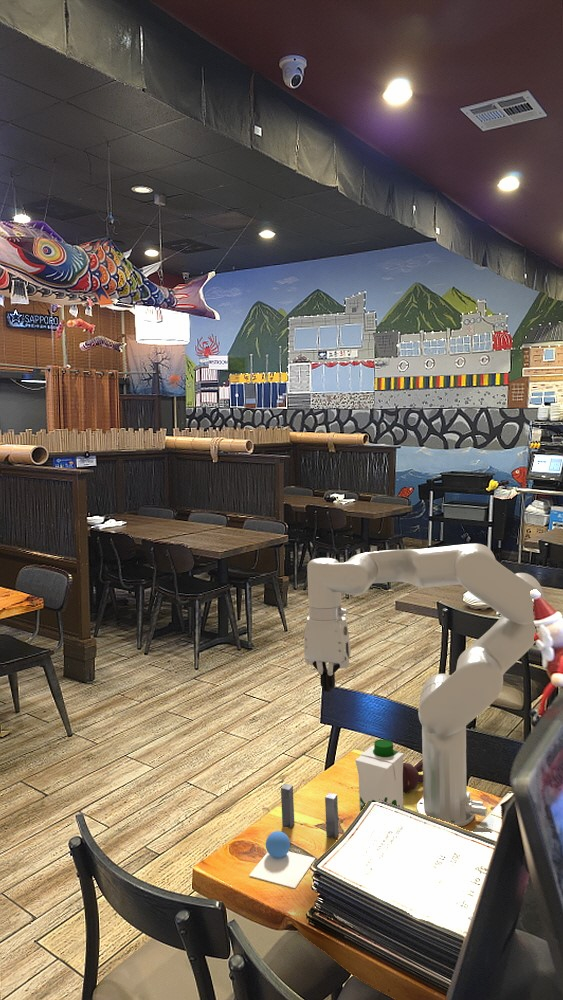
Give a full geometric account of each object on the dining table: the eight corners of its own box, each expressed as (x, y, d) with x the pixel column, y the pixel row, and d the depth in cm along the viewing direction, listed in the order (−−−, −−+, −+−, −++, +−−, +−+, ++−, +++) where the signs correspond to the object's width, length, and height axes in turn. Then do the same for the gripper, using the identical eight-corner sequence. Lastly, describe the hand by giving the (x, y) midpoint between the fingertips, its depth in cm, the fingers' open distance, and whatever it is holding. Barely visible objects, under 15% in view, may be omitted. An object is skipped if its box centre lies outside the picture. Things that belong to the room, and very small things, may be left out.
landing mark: (315, 859, 142) (315, 858, 142) (295, 888, 133) (295, 887, 133) (271, 848, 146) (271, 847, 146) (249, 876, 138) (248, 875, 138)
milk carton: (409, 832, 150) (407, 743, 148) (390, 854, 143) (387, 760, 141) (373, 820, 155) (370, 734, 153) (353, 841, 148) (350, 750, 146)
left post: (294, 823, 155) (292, 785, 154) (290, 828, 153) (289, 789, 152) (286, 822, 156) (284, 783, 155) (282, 826, 154) (280, 788, 153)
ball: (279, 863, 140) (290, 860, 144) (286, 837, 141) (296, 835, 145) (258, 853, 142) (269, 851, 146) (265, 828, 143) (276, 826, 147)
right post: (338, 834, 151) (337, 794, 150) (335, 839, 149) (333, 799, 148) (330, 832, 151) (328, 792, 151) (326, 837, 150) (325, 797, 149)
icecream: (391, 781, 159) (439, 768, 167) (372, 761, 165) (419, 750, 173) (385, 807, 161) (433, 792, 169) (366, 786, 167) (413, 773, 175)
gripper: (361, 610, 160) (364, 688, 161) (302, 606, 166) (305, 680, 168) (350, 619, 153) (353, 700, 155) (288, 614, 159) (292, 691, 161)
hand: (328, 689), depth 161 cm, fingers closed
